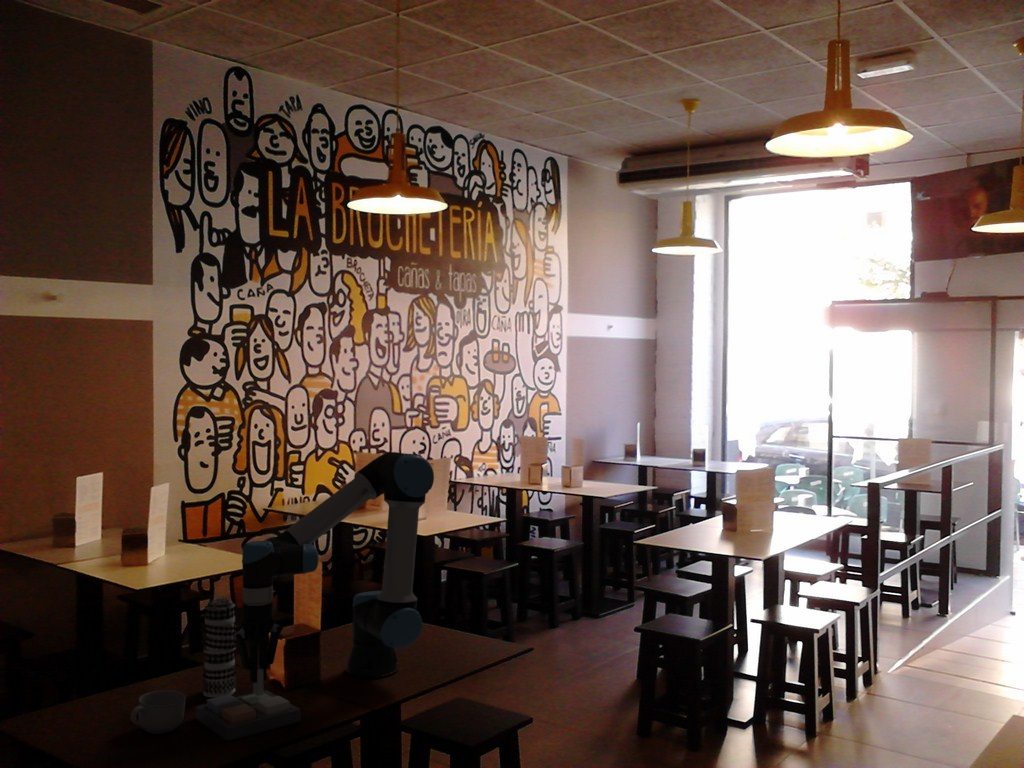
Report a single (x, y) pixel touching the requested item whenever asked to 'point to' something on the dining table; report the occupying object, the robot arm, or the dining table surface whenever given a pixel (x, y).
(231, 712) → the terracotta key
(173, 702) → the teacup
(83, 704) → the dining table surface
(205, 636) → the decorative candle
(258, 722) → the keypad frame
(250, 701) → the sage key
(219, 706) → the blue key
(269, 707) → the cream key
